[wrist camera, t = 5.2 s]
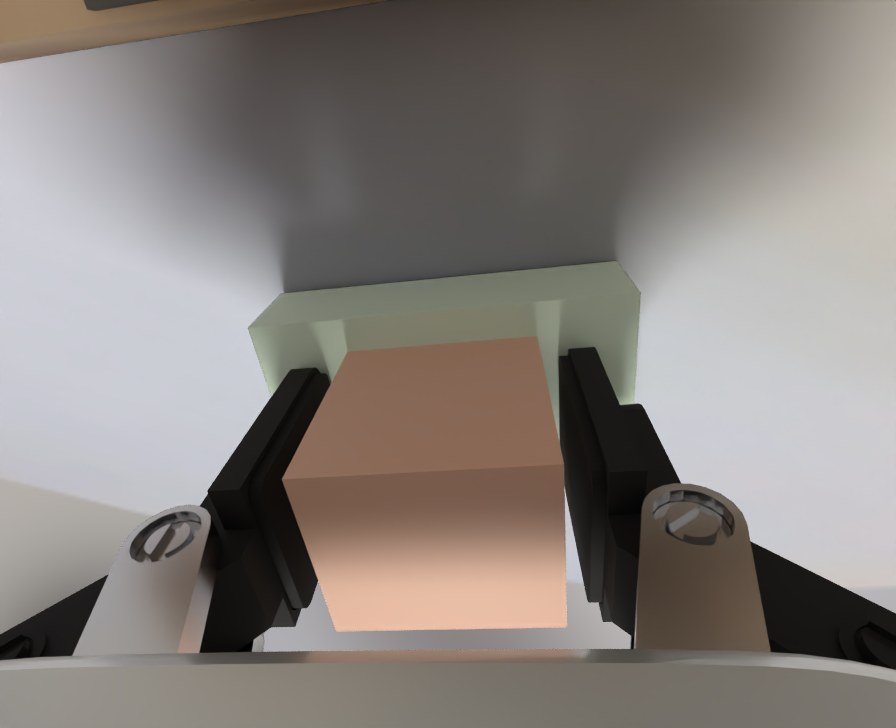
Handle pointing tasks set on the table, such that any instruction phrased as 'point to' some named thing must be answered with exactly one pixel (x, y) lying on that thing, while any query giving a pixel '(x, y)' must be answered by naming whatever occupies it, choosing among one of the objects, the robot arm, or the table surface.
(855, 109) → the table surface
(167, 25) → the board
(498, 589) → the stub
